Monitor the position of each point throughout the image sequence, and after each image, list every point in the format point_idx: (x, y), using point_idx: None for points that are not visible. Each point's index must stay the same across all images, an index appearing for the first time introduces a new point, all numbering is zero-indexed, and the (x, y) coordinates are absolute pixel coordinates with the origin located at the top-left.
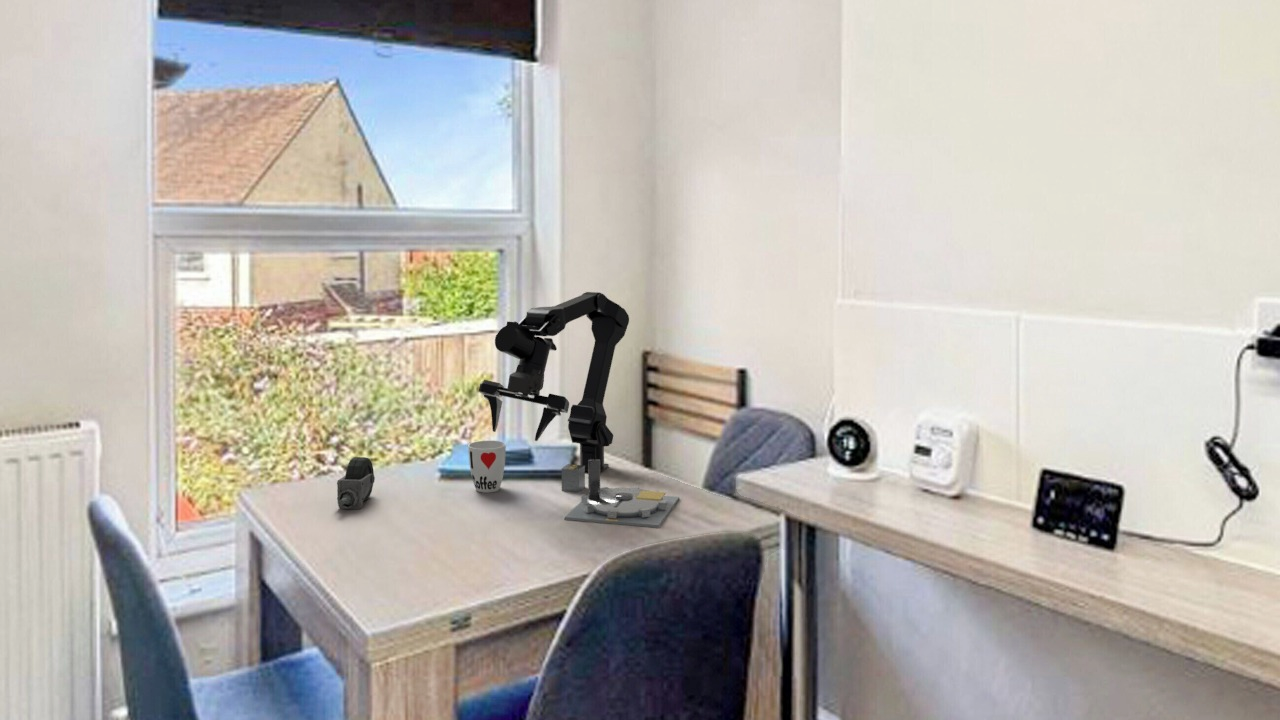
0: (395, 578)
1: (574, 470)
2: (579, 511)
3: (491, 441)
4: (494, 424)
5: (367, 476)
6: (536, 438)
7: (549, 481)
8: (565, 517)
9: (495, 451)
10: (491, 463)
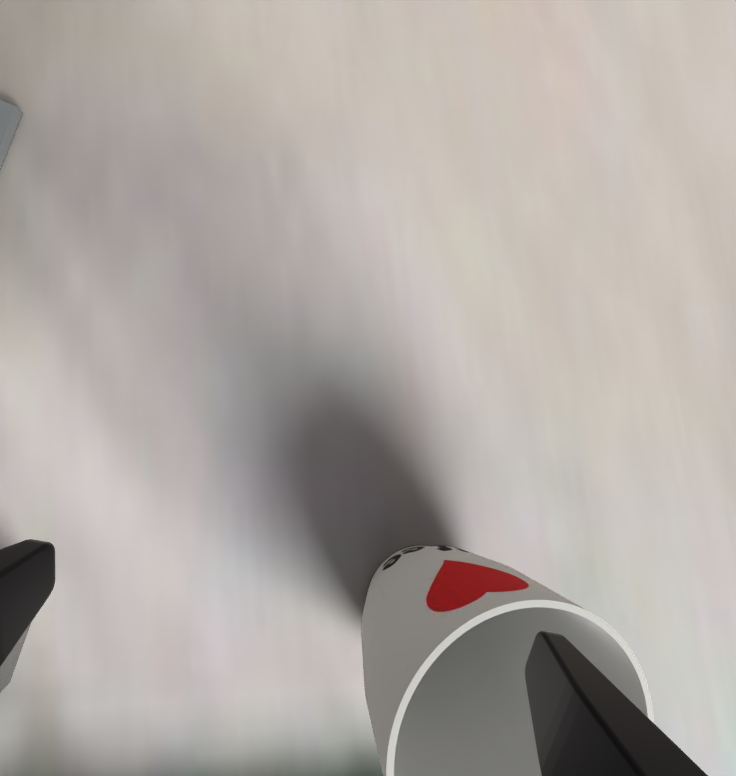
0: None
1: None
2: None
3: None
4: (590, 684)
5: None
6: (20, 547)
7: (120, 760)
8: (11, 104)
9: (444, 620)
10: (441, 576)
